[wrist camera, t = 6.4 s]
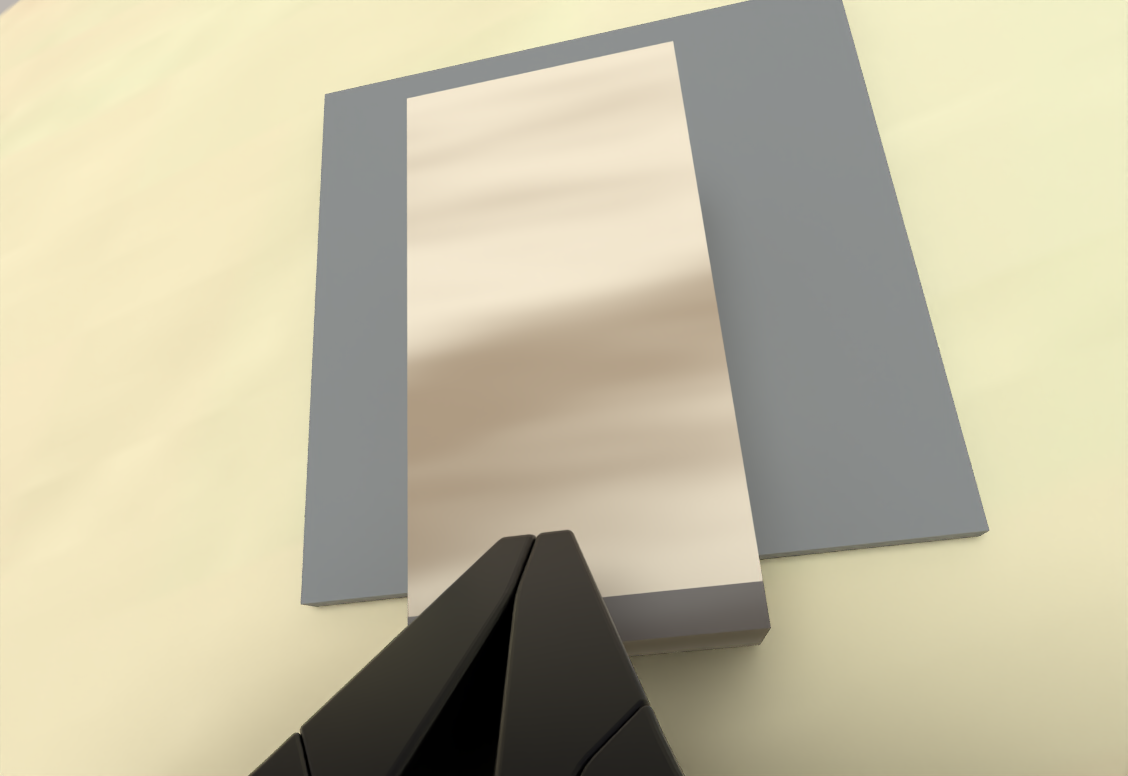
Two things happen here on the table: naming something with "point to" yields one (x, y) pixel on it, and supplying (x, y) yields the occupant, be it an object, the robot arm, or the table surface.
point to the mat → (742, 288)
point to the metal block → (574, 349)
